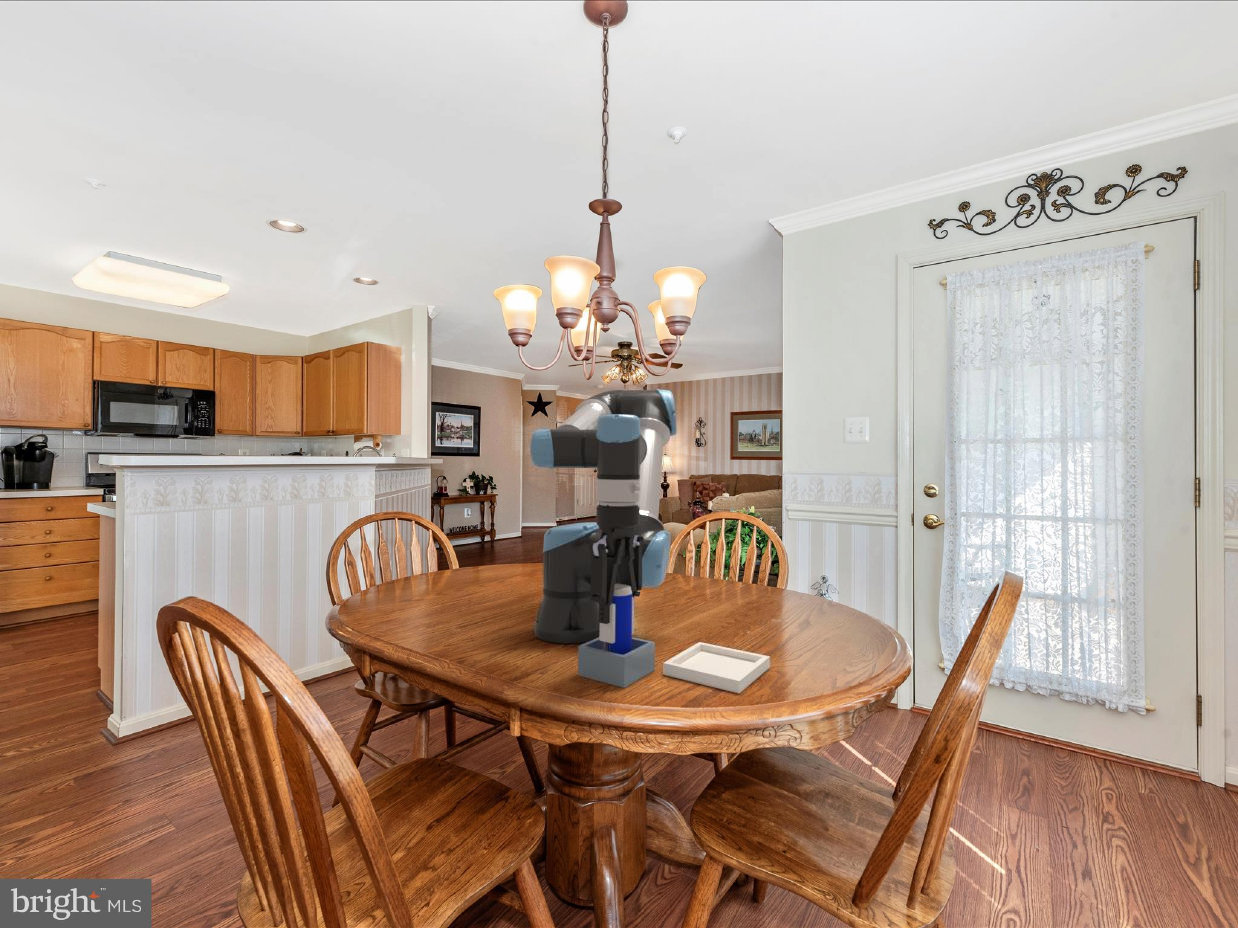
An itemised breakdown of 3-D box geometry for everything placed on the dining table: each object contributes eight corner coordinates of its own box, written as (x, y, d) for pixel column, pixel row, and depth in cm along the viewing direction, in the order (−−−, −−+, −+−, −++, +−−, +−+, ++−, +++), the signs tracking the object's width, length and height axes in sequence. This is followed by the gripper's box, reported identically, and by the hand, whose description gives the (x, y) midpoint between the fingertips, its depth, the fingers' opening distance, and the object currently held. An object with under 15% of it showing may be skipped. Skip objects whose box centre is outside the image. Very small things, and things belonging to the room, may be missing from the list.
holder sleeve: (577, 675, 99) (578, 646, 99) (610, 659, 107) (610, 632, 107) (624, 687, 94) (624, 657, 94) (654, 670, 101) (654, 642, 101)
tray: (663, 674, 100) (663, 662, 100) (699, 652, 111) (699, 641, 111) (739, 693, 92) (739, 680, 92) (769, 667, 103) (769, 656, 103)
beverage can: (601, 667, 103) (601, 583, 102) (629, 666, 103) (630, 583, 103) (602, 678, 97) (603, 590, 97) (633, 677, 98) (633, 590, 98)
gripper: (605, 508, 90) (603, 655, 91) (663, 501, 105) (661, 628, 106) (568, 505, 95) (567, 646, 95) (628, 499, 110) (627, 621, 110)
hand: (617, 636), depth 100 cm, fingers closed on beverage can, 5 cm apart
